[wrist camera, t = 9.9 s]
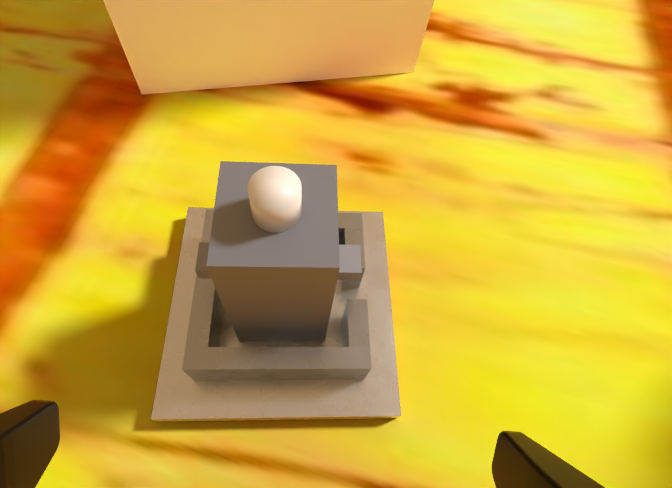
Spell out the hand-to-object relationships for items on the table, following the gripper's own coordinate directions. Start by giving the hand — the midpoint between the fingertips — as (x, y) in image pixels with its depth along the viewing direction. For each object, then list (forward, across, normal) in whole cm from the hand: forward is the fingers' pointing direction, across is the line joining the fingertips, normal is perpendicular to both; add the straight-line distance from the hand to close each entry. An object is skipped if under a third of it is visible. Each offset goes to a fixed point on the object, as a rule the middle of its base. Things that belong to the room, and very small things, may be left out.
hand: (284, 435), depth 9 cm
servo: (+15, +1, +3) cm, 15 cm away
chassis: (+15, +1, +3) cm, 16 cm away
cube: (+36, +6, -19) cm, 41 cm away
